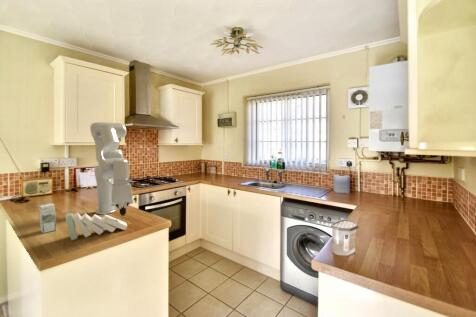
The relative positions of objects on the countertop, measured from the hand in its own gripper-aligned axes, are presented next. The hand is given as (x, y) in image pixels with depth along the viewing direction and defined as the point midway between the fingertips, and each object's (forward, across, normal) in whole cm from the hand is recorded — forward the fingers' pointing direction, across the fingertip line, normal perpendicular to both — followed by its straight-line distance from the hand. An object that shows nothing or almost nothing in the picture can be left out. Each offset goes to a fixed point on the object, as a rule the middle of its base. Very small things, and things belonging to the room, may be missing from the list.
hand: (122, 215), depth 126 cm
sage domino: (+7, +22, 0) cm, 23 cm away
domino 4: (+7, -1, 0) cm, 7 cm away
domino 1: (+7, +16, 0) cm, 18 cm away
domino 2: (+7, +10, 0) cm, 13 cm away
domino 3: (+7, +5, 0) cm, 8 cm away
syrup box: (+8, +35, -18) cm, 40 cm away
